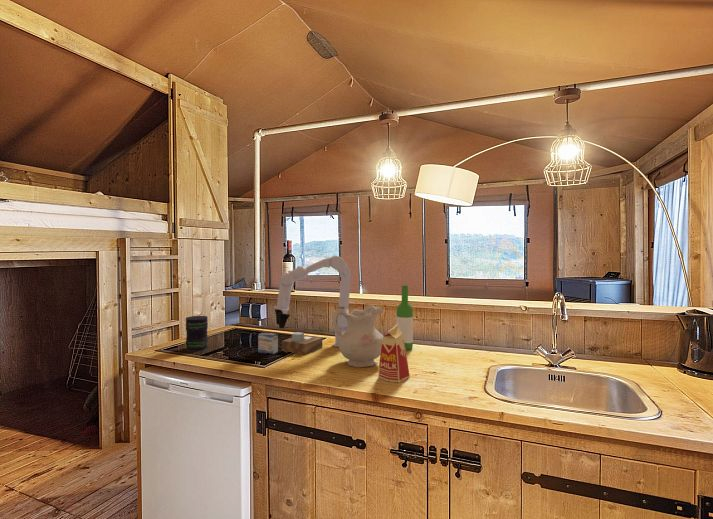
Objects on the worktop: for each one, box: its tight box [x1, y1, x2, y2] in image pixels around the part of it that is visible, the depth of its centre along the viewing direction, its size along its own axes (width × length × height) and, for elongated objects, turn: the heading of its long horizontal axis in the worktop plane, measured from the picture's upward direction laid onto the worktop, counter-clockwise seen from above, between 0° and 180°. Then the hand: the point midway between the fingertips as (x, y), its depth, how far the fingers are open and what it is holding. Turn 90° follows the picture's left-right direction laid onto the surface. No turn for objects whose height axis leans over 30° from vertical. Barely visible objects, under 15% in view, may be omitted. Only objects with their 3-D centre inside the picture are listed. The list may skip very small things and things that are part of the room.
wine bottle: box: [396, 285, 414, 351], centre depth 192 cm, size 8×8×30 cm
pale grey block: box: [291, 331, 305, 343], centre depth 187 cm, size 4×4×5 cm
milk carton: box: [377, 323, 411, 384], centre depth 150 cm, size 9×9×20 cm
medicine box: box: [257, 332, 279, 355], centre depth 186 cm, size 8×4×9 cm, turn 73°
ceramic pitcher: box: [332, 304, 384, 369], centre depth 168 cm, size 22×20×25 cm
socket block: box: [281, 334, 323, 356], centre depth 190 cm, size 13×14×5 cm
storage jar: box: [185, 315, 209, 352], centre depth 192 cm, size 10×10×15 cm
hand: (280, 326), depth 193 cm, fingers open, 7 cm apart
